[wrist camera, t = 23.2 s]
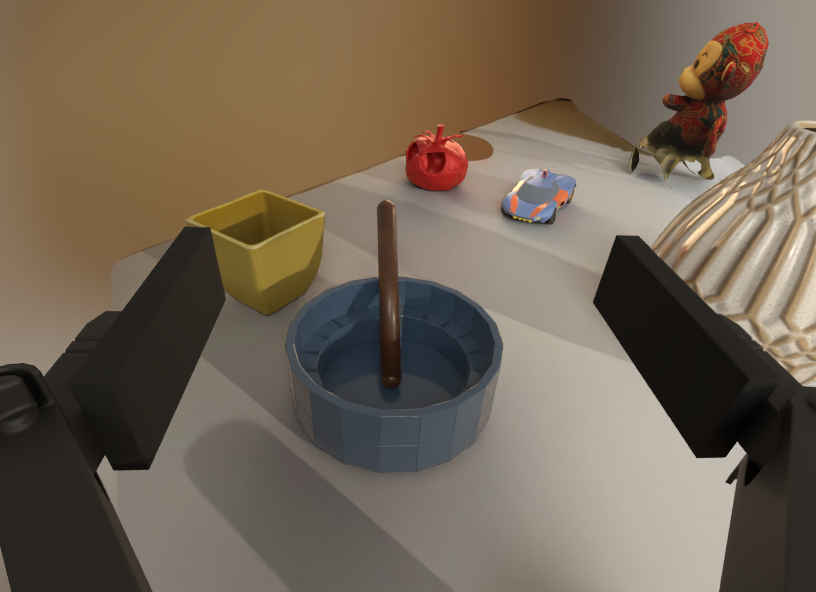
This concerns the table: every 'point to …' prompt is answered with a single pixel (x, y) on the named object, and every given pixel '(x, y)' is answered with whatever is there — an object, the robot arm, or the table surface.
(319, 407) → the bowl
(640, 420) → the table surface
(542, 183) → the toy car
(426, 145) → the pomegranate
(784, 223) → the vase
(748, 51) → the stuffed monkey
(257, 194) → the flower pot
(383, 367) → the stick
